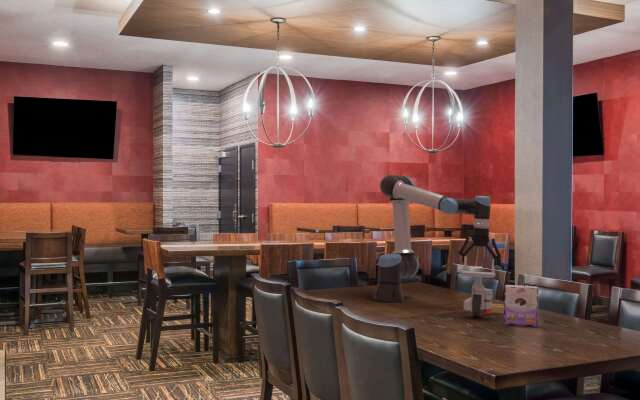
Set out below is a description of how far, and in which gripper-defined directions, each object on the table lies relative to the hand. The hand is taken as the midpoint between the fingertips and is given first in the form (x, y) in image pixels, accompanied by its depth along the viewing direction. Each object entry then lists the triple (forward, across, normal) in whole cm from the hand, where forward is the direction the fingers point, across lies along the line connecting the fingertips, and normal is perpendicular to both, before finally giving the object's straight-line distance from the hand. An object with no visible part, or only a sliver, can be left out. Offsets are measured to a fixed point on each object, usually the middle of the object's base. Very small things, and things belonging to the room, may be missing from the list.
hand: (478, 271), depth 337 cm
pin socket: (+18, +12, -6) cm, 22 cm away
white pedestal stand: (+18, +6, -28) cm, 34 cm away
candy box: (+17, +26, -38) cm, 49 cm away
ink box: (+18, +6, -17) cm, 26 cm away
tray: (+18, +1, -4) cm, 18 cm away
